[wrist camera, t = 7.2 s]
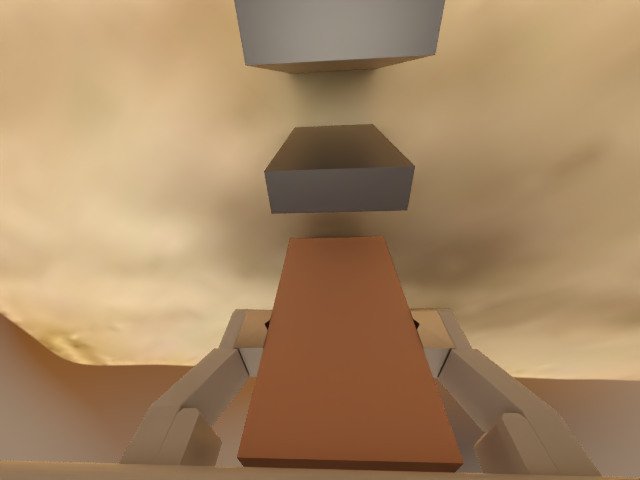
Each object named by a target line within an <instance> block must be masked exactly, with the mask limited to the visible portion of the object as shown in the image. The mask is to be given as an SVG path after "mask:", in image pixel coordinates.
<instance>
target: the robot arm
mask: <svg viewBox="0 0 640 480" xmlns="http://www.w3.org/2000/svg"><path fill="white" fill-rule="evenodd" d="M409 311H410V314H411V317H412V320H413V321H414V324H415V327H416V330H417V334H418V336H419V339H420V342H421V345H422V348H423V350H424V352H425V355H426V358H427V361H428V364H429V367H430V369H431V372H432V375H433V378H438V380H439V381H440V383H441V384H442V385H443V386H444V387H445V388H446V389H447V391H448V392H449V393H450V394H451V395H452V396H453V397H454V399H455V400H456V401H457V402H458V403H459V404H460V405H461V407H462V408H463V409H464V410H465V411H466V412H467V413H468V415H469V416H470V417H471V418H472V419H473V420H474V422H476V424H477V425H478V426H479V427H480V429H481V430H482V431H483V432H484V433H485V434H484V435H483V436H482V437H481V438H480V439H479V441H477V443H476V444H475V446H474V450H475V453H476V456H477V458H478V461H479V463H480V466H481V469H482V471H483V473H451V472H414V471H376V470H339V469H302V468H265V467H225V466H215V465H216V462H217V458H218V455H219V451H220V447H221V444H222V442H221V439H220V437H219V436H218V435H217V434H216V432H215V431H214V430H213V429H212V426H213V425H214V423H215V422H216V421H217V419H218V418H219V417H220V415H221V414H222V413H223V412H224V410H225V409H226V408H227V406H228V405H229V404H230V402H231V401H232V400H233V399H234V397H235V396H236V395H237V393H238V392H239V391H240V389H241V388H242V387H243V385H244V384H245V383H246V381H247V380H248V379H249V376H257V373H258V369H259V364H260V360H261V356H262V352H263V349H264V345H265V341H266V337H267V333H268V328H269V323H270V320H271V316H272V312H273V310H251V309H236V310H235V311H234V312H233V314H232V316H231V319H230V321H229V324H228V326H227V328H226V331H225V333H224V336H223V338H222V340H221V343H220V345H219V348H217V349H213V350H212V351H211V352H210V353H209V354H208V355H207V356H205V357H204V358H203V359H202V360H201V361H200V362H199V363H198V364H197V365H195V366H194V367H193V368H192V369H191V370H190V371H189V372H188V373H186V374H185V375H184V376H183V377H182V378H181V379H180V380H179V381H178V382H177V383H175V384H174V385H173V386H172V387H171V388H170V389H169V390H167V392H165V393H164V394H163V395H162V396H161V397H160V398H159V399H157V400H156V401H155V402H154V403H153V404H152V405H151V406H150V407H149V409H148V411H147V413H146V415H145V416H144V418H143V420H142V422H141V424H140V425H139V427H138V429H137V431H136V433H135V435H134V436H133V438H132V440H131V442H130V444H129V445H128V447H127V449H126V451H125V453H124V455H123V456H122V458H121V460H120V462H119V464H116V463H115V464H114V463H78V462H77V463H76V462H41V461H4V460H3V461H2V460H0V480H640V478H637V477H634V478H633V477H602V475H601V474H600V473H599V471H598V470H597V468H596V467H595V465H594V464H593V462H592V461H591V460H590V458H589V457H588V455H587V454H586V452H585V451H584V449H583V448H582V446H581V445H580V444H579V442H578V441H577V439H576V438H575V437H574V435H573V433H572V432H571V431H570V429H569V428H568V426H567V425H566V423H565V422H564V420H563V419H562V418H561V416H560V415H559V413H558V412H556V411H555V410H554V409H553V408H551V407H550V406H549V405H548V404H546V403H545V402H544V401H543V400H541V399H540V398H539V397H537V396H536V395H535V394H534V393H532V392H531V391H530V390H528V389H527V388H526V387H525V386H523V385H522V384H521V383H520V382H518V381H517V380H516V379H514V378H513V377H512V376H511V375H509V374H508V373H507V372H505V371H504V370H503V369H502V368H500V367H499V366H498V365H497V364H495V363H494V362H493V361H491V360H490V359H489V358H488V357H486V356H485V355H484V354H482V353H481V352H480V351H479V350H477V349H472V347H471V345H470V343H469V342H468V340H467V338H466V336H465V334H464V332H463V331H462V329H461V327H460V325H459V323H458V321H457V320H456V318H455V316H454V314H453V312H452V311H451V310H450V309H449V308H441V309H434V308H421V309H409Z"/></svg>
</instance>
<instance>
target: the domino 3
mask: <svg viewBox="0 0 640 480" xmlns="http://www.w3.org/2000/svg"><path fill="white" fill-rule="evenodd" d="M237 458H238V459H239V461H240V462H241V463H242V465H243V466H244V467H265V468H302V469H339V470H376V471H414V472H451V473H455V472H456V471H457V470H458V469H459V468H460V467H461V466H462V465H463V460H462V457H461V454H460V452H459V449H458V446H457V443H456V440H455V437H454V434H453V432H452V429H451V426H450V423H449V420H448V418H447V415H446V412H445V409H444V406H443V403H442V401H441V398H440V395H439V392H438V389H437V387H436V384H435V381H434V378H433V375H432V372H431V369H430V367H429V364H428V361H427V358H426V355H425V352H424V350H423V348H422V345H421V342H420V339H419V336H418V334H417V330H416V327H415V324H414V321H413V320H412V317H411V314H410V311H409V307H408V304H407V302H406V299H405V296H404V293H403V290H402V287H401V285H400V282H399V279H398V276H397V273H396V270H395V268H394V265H393V262H392V259H391V256H390V253H389V251H388V248H387V245H386V242H385V239H384V237H335V238H290V241H289V245H288V249H287V254H286V258H285V262H284V266H283V270H282V274H281V278H280V282H279V286H278V291H277V295H276V299H275V303H274V307H273V312H272V316H271V320H270V323H269V328H268V333H267V337H266V341H265V345H264V349H263V352H262V356H261V360H260V364H259V369H258V373H257V377H256V381H255V385H254V390H253V393H252V397H251V402H250V406H249V410H248V414H247V418H246V422H245V426H244V431H243V434H242V438H241V443H240V447H239V451H238V455H237Z"/></svg>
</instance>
